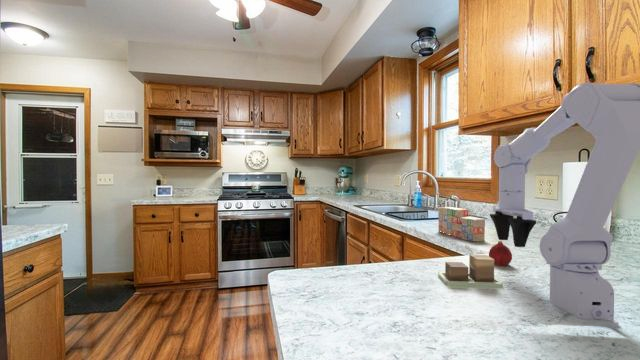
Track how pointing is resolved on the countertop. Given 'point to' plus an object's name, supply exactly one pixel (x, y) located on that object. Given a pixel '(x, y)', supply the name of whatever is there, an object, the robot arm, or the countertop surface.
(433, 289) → the countertop surface
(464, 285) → the base plate
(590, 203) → the robot arm
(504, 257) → the onion
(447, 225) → the stack of blocks
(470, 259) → the two tone block
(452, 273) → the walnut block
